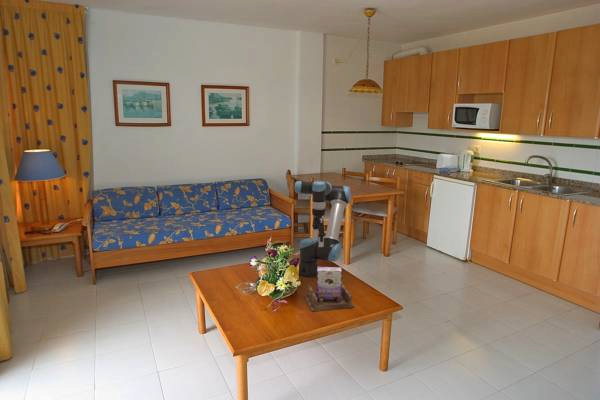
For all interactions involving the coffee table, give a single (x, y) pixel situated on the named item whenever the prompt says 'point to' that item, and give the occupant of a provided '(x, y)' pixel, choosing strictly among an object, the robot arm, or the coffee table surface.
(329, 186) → the robot arm
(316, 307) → the peg frame
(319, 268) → the candy box
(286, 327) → the coffee table surface
